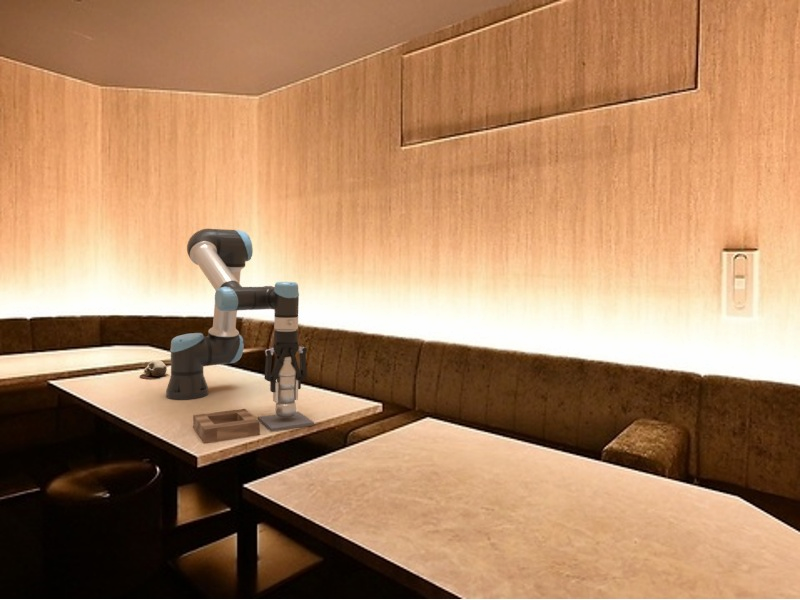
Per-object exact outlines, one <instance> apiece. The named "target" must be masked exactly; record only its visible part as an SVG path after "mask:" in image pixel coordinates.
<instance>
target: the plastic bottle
mask: <svg viewBox="0 0 800 600" xmlns="http://www.w3.org/2000/svg"><path fill="white" fill-rule="evenodd" d="M292 362H293V361H292V356H291V357H284V359H283V362H282V363H281V366H280V370H279V373H278V376H277V379H276V381H277V382H278V403H275V414H277V416H279V417H292V416H294V414H295V413H296V412H297V403H296V400H295V395H294V388H295V379H296V369H295V368H294V366H293V364H292Z"/></svg>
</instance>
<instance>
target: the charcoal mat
mask: <svg viewBox="0 0 800 600" xmlns="http://www.w3.org/2000/svg"><path fill="white" fill-rule="evenodd" d="M257 420H258V421H260V424H262V423H263V424H264V425H265V426H264V425H263V424H262V425H263V426H264V427H265V428H267V429H268V430H269V431H270V432H278V431H279V432H280V431H285V430H292V429H298V428H304V427H312V426H315V421H313V420H312V419H310V418H308V417H307V416H306V415H304V414H303V413H301V411H297V410H296V413H295V414H294V416H292V417H279V416H277V414H276V413H275V414H270V415H262V416H257Z"/></svg>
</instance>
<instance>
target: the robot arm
mask: <svg viewBox="0 0 800 600" xmlns="http://www.w3.org/2000/svg"><path fill="white" fill-rule="evenodd" d="M253 250H254V249H253V243H252V240H251V238H250V235H249V234H248V233H247V232H246V231H244V230H237V229H227V228H226V229H221V228H219V229H218V228H203V229H200V230H198V231H196V232H195V233H193V234H191V236H190V237H189V239H188V242H187V245H186V251H187V252H186V253H187V254H188V255H187V256H188V257H189V259H190V261H192V263H193V264H195V265H197V266H198V267H199V268H200V270H201V271H202V273H203V274H204V276H205V277H206V278H207V280H208V281H209V283H210V285H211V287H213V289H214V290H215V294H214V309H213V320H212V321H213V322H212V327H210V328H209V329H208V333H207V336H204V334H203V333H202V332H194V333H192V332H191V333H185V334H181V335H177V336H175V337H173V338H172V339H171V342H170V350H169V351H170V377H169V381H168V383H167V386H166V390H165V396H166V398H168V399H171V400H192V399H200V398H203V397H206V396H208V394H209V386H208V383H207V381H206V378H205V375H204V367H209V366H218V365H219V366H220V365H221V366H222V365H229V364H235V363H237V362H238V361H239V360H240V359H241V358H242V355H243V352H244V349H245V348H244V345H245V344H244V338H243V336H242V335H241V334H240V331H239V330H238V329H237V327H236V326H237V315H238V314H237V313H238V311H253V310H254V311H255V310H256V311H257V310H274V323H273V324H274V327H273V328H274V332H273V333H274V334H273V335H274V337H273V339H274V340H273V341H274V342H273V347H271V348H269V349H267V348H266V349H264V354H265V355H264V356H265V366H264V377H263V378H264V380H265V381H267V382H269V383H270V384H269V387H270V388H269V389H270V392H271V393H272V402H274V403H275V404H276V403H278V382H277V376H278V373H279V370H280V366H281V363H282V362H283V359H284V357H291V356H292V361H293V362H292V364H293V366H294V368H295V369H296V379H295V388H294V395H295V401H299V390H301V388H302V380H303V379H304V378H307V377H308V376H307V375H308V373H307V357H306V356H307V355H306V354H307V351H308V348H307V347H304V346H300V344H299V331H298V329H299V301H300V299H299V296H300V293H299V284H298V283H297V282H295V281H294V282H293V281H277V282H275V284H274V286H273V285H265V286H242V285H241V284H240V283H241V282H240V281H241V271H242V270H243V269H244V268H245V267H246V262H248V261H251V259H252V257H253V252H254V251H253ZM297 352H298V354H299V365H298V362H297V358H296V354H297ZM274 353H275V355H276V357H275V360H274V361H275V362H274V365H273V364H272V363H273V355H274ZM272 365H273V368H272Z"/></svg>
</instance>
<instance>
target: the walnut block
mask: <svg viewBox="0 0 800 600" xmlns="http://www.w3.org/2000/svg"><path fill="white" fill-rule="evenodd" d="M192 420H193V424H192V425H193V426H192V427H193V429H194V431H195V432H196V434H197V435H198V436H199V438H201V440H202V441H203V443H204V444H208V443H214V442H220V441H226V440H233V439H240V438H245V437H246V438H247V437H253V436H259V435H261V434H260V431H261V429H260V428H261V427H260V426H261V422H260V421H259V420H258V418H256V417H255V416H254V415H253V414H252V413H251V412H250V411H248V410H247V409H246V408H240V409H231V410H224V411H217V412H216V411H214V412H207V413H200V414H193V418H192Z"/></svg>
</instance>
